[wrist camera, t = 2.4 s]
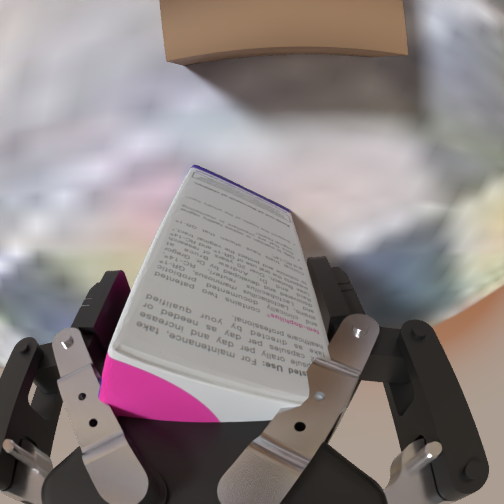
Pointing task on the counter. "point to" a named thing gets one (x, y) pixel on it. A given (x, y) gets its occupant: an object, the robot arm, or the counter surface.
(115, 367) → the supplement box
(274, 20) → the brown cardboard box
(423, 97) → the counter surface
